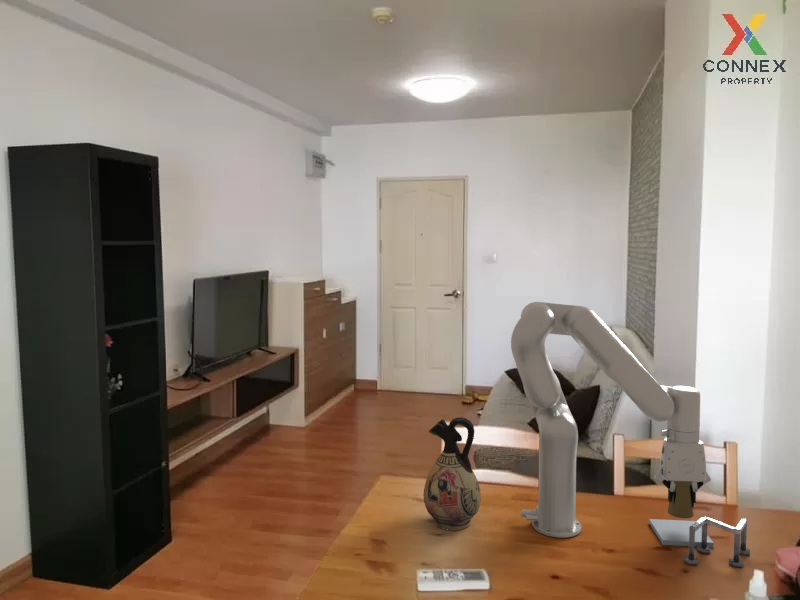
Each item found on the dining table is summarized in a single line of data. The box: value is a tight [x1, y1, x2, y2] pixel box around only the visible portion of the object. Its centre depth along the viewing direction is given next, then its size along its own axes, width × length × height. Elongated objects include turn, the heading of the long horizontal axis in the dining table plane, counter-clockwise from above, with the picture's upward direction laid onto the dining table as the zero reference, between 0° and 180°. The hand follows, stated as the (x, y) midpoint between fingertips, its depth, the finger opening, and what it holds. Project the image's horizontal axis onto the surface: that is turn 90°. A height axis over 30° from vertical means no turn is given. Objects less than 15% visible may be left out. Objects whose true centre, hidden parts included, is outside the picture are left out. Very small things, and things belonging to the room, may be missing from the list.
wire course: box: [683, 515, 751, 569], centre depth 144 cm, size 17×9×9 cm, turn 83°
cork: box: [667, 481, 694, 519], centre depth 154 cm, size 6×6×11 cm
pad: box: [648, 518, 715, 548], centre depth 155 cm, size 12×12×1 cm
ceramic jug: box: [422, 416, 482, 531], centre depth 161 cm, size 17×15×30 cm
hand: (681, 504), depth 155 cm, fingers closed on cork, 3 cm apart
